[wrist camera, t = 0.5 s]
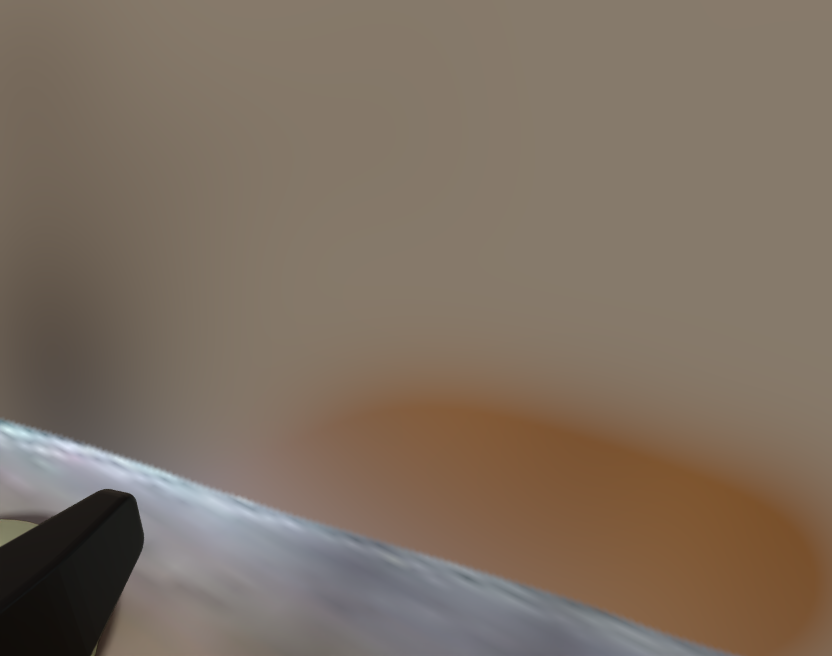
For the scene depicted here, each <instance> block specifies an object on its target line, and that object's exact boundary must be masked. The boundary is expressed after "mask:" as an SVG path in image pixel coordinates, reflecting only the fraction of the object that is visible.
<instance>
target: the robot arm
mask: <svg viewBox="0 0 832 656" xmlns="http://www.w3.org/2000/svg"><path fill="white" fill-rule="evenodd" d="M143 543H144V532H143V528H142V523H141V519H140V515H139V510H138V506H137V502H136V499H135V498H134V496H133V495H132V494H129V493H126V492H121V491H116V490H112V489H103V490H100V491H98V492H96V493H94V494H92V495H90V496H89V497H87V498H85V499H83V500H82V501H80V502H78V503H76V504H74V505H73V506H71V507H69V508H67V509H66V510H64V511H62V512H60V513H59V514H57V515H55V516H53V517H51V518H50V519H48V520H46V521H44V522H43V523H41V524H39V525H37V526H36V527H34V528H32V529H30V530H29V531H27V532H25V533H23V534H21V535H20V536H18V537H16V538H14V539H13V540H11V541H9V542H7V543H6V544H4V545H2V546H0V656H91V655H92V653H93V651H94V649H95V647H96V645H97V643H98V641H99V639H100V637H101V635H102V633H103V631H104V629H105V627H106V624H107V622H108V620H109V618H110V616H111V614H112V612H113V610H114V608H115V606H116V604H117V602H118V600H119V597H120V595H121V593H122V591H123V589H124V587H125V585H126V583H127V581H128V579H129V577H130V575H131V572H132V570H133V568H134V566H135V564H136V562H137V560H138V558H139V556H140V554H141V551H142V548H143Z"/></svg>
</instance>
